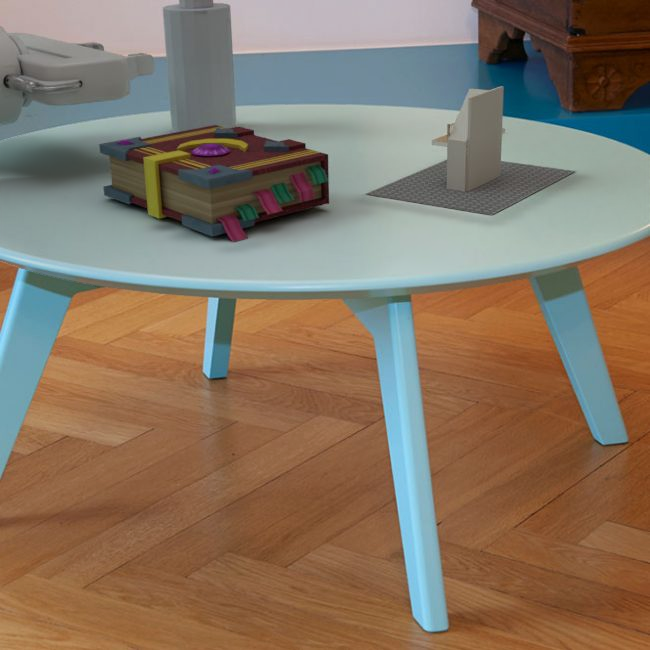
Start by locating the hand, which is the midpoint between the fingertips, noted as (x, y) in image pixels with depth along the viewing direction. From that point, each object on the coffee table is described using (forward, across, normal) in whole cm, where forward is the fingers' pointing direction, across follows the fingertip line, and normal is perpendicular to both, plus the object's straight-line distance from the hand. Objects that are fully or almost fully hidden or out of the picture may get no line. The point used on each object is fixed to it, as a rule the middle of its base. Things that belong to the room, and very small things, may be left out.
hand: (124, 57), depth 106 cm
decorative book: (-6, -25, +8) cm, 27 cm away
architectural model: (+13, -33, +8) cm, 36 cm away
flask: (+8, 0, +8) cm, 11 cm away
